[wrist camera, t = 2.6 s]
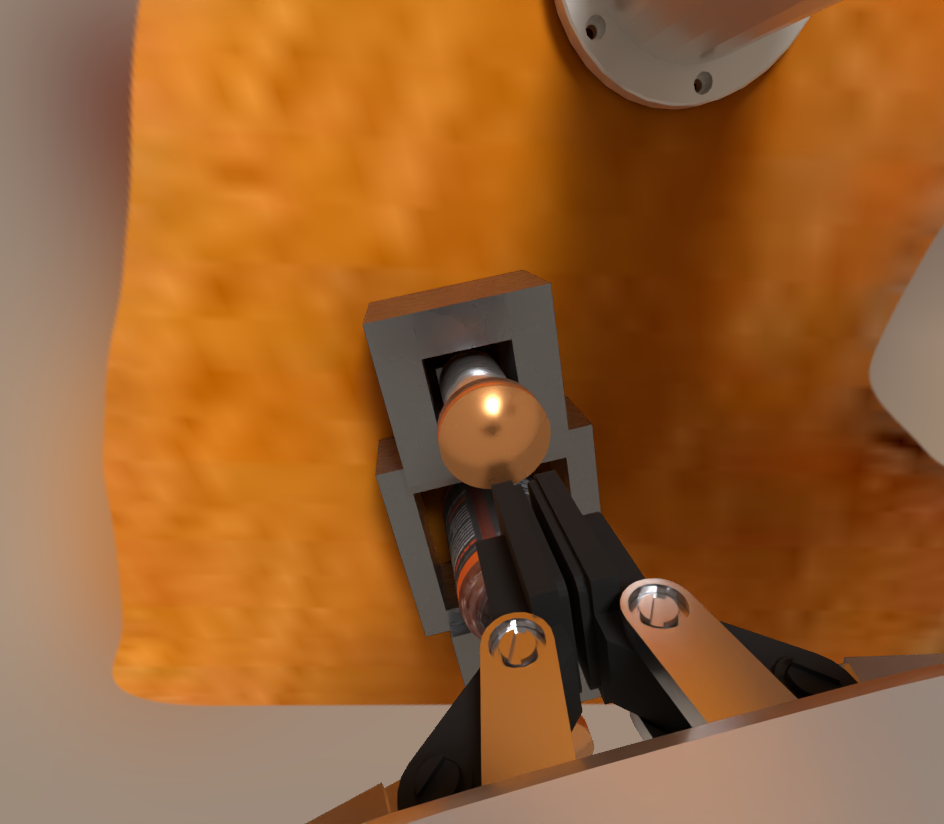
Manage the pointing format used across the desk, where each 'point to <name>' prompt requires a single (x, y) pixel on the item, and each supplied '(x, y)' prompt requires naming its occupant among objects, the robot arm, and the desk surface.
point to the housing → (416, 414)
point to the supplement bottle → (471, 547)
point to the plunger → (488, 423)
